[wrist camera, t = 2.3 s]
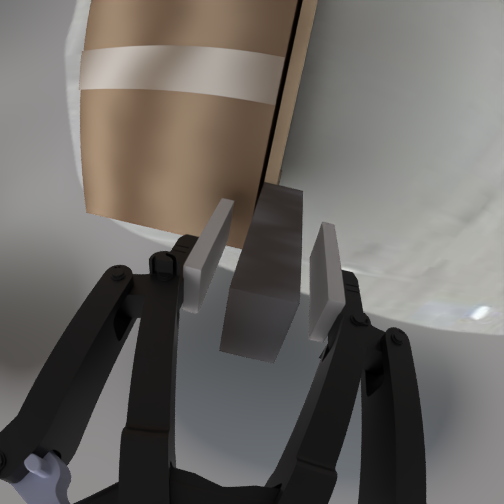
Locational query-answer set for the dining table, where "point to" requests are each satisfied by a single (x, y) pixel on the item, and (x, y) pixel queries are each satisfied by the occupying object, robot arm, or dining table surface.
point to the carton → (181, 108)
